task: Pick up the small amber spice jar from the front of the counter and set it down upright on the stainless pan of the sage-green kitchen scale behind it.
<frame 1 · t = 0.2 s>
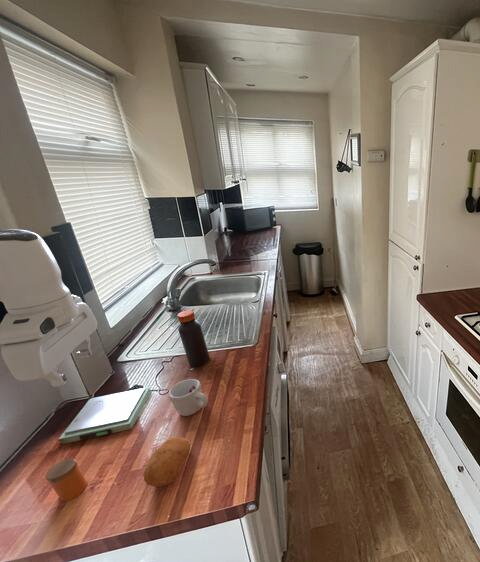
hand: (74, 369, 65), 28 cm above the worktop, tool pointing down, fingers open, 8 cm apart
potato: (172, 469, 74), on the worktop
cup: (195, 410, 91), on the worktop
spice jar: (74, 490, 69), on the worktop
bottle: (199, 361, 113), on the worktop
scale: (110, 415, 90), on the worktop
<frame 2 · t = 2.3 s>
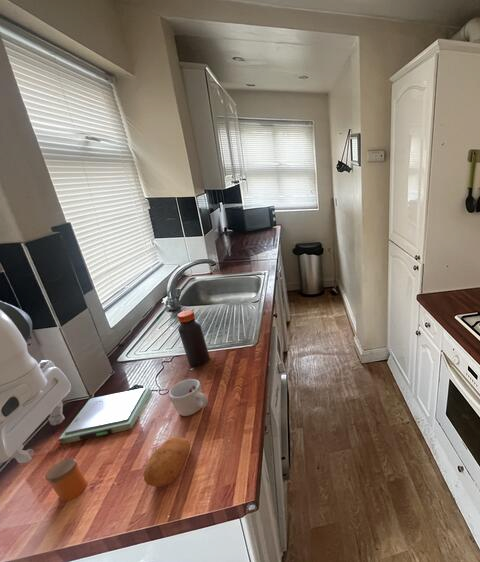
hand: (44, 439, 63), 16 cm above the worktop, tool pointing down, fingers open, 8 cm apart
nothing on the worktop moved.
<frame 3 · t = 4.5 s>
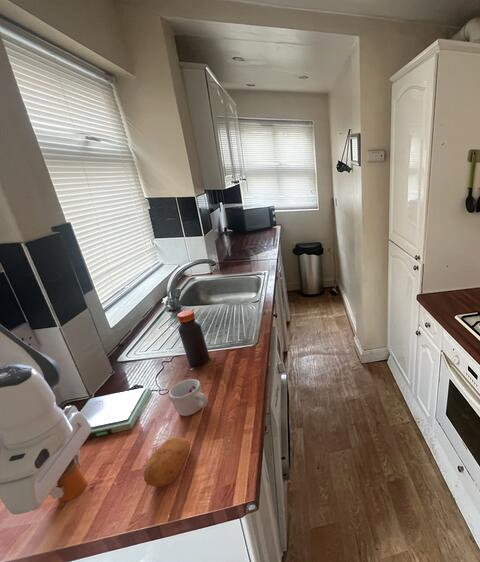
hand: (68, 481, 68), 3 cm above the worktop, tool pointing down, fingers closed on spice jar, 4 cm apart
spice jar: (74, 490, 69), on the worktop, touching gripper
everything else where it was.
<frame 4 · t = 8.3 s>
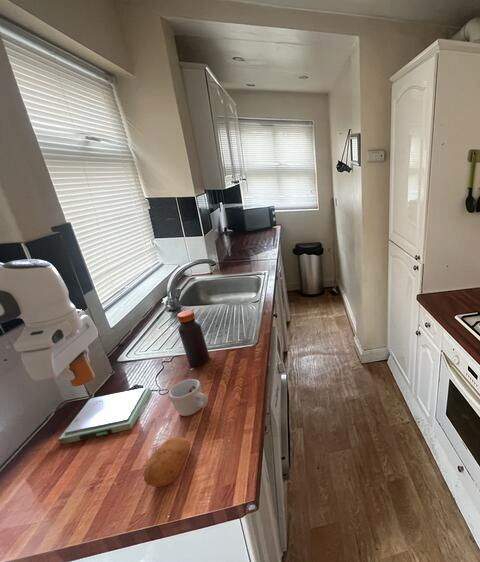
hand: (78, 371, 79), 19 cm above the worktop, tool pointing down, fingers closed on spice jar, 4 cm apart
spice jar: (83, 380, 80), point 16 cm above the worktop, touching gripper
everything else where it was.
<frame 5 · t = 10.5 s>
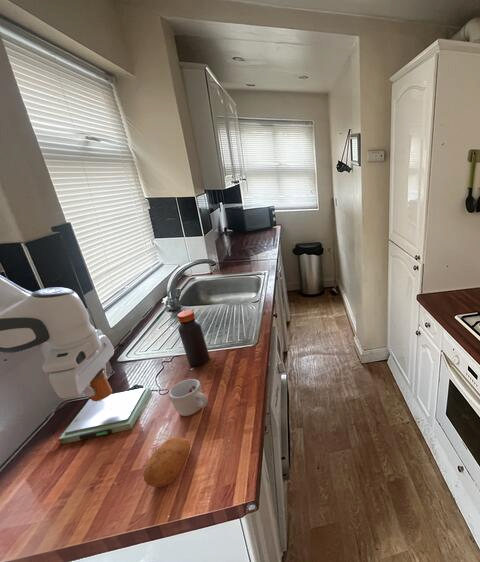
hand: (97, 387, 86), 10 cm above the worktop, tool pointing down, fingers closed on spice jar, 4 cm apart
spice jar: (102, 395, 87), point 8 cm above the worktop, touching gripper
everything else where it was.
when the fingers open (5 cm above the worktop, at t = 12.2 s): spice jar stays where it is, resting on scale.
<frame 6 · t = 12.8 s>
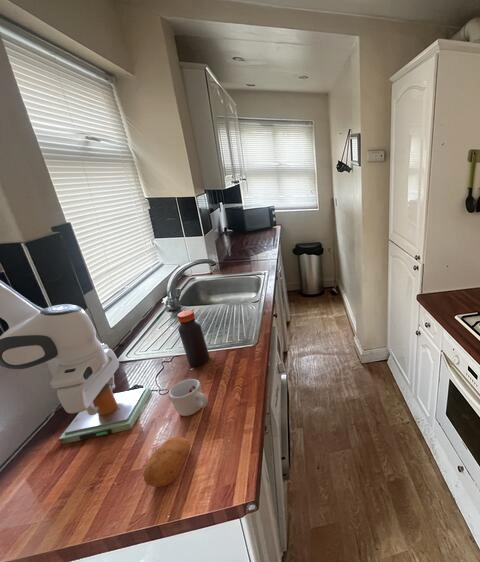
hand: (103, 400, 87), 6 cm above the worktop, tool pointing down, fingers open, 8 cm apart
spice jar: (108, 408, 89), point 3 cm above the worktop, touching scale
everything else where it was.
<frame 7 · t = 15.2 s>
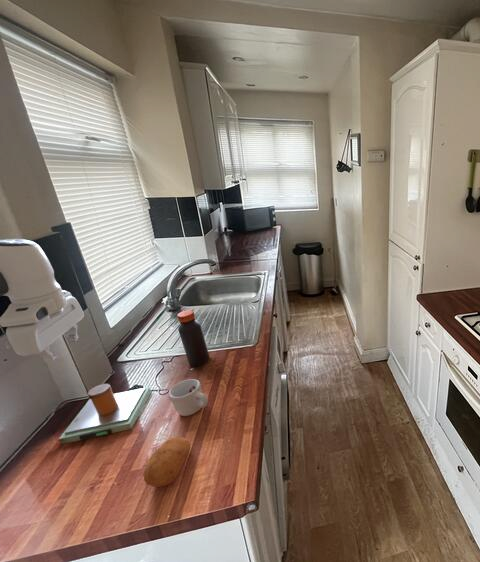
hand: (63, 350, 81), 23 cm above the worktop, tool pointing down, fingers open, 8 cm apart
nothing on the worktop moved.
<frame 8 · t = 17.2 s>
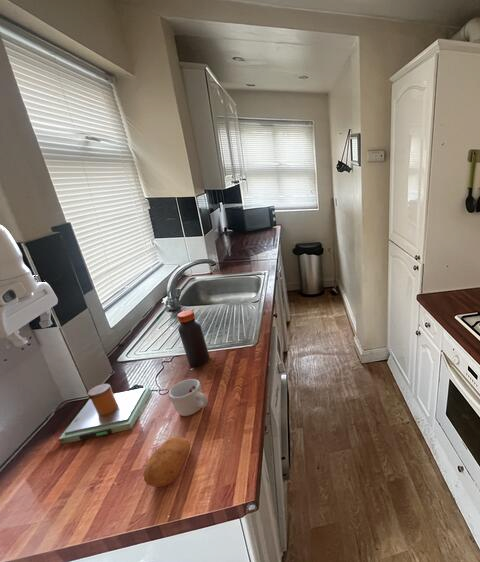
hand: (35, 335, 81), 27 cm above the worktop, tool pointing down, fingers open, 8 cm apart
nothing on the worktop moved.
at the end: spice jar inside the target area on the scale (0.1 cm from its centre), point 2.6 cm above the scale's base; spice jar tilted 0°; the gripper is holding nothing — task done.
